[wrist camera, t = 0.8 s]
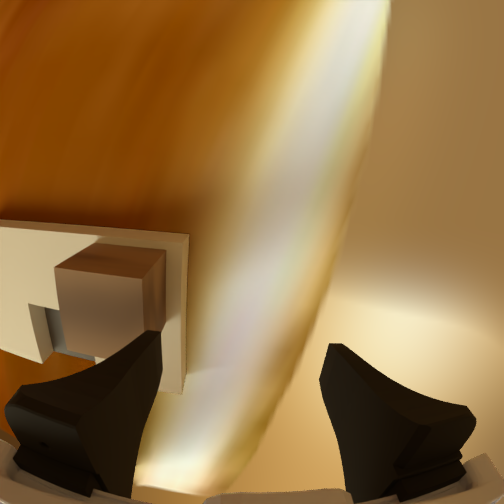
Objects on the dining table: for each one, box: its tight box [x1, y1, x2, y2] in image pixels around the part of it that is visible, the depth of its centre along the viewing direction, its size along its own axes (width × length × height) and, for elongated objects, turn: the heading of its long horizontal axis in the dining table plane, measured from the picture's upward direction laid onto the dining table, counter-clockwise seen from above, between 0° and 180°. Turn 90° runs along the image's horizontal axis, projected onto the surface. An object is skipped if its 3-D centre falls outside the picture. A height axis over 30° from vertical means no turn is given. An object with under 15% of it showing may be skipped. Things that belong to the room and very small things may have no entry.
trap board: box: [0, 219, 189, 394], centre depth 18 cm, size 14×31×5 cm, turn 84°
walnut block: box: [54, 243, 166, 359], centre depth 16 cm, size 5×5×5 cm
